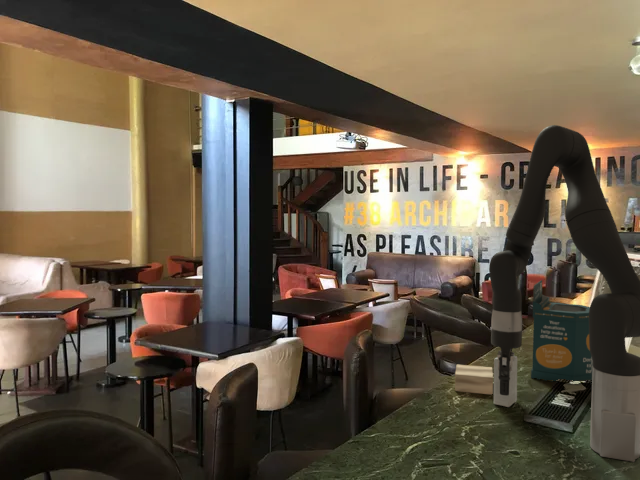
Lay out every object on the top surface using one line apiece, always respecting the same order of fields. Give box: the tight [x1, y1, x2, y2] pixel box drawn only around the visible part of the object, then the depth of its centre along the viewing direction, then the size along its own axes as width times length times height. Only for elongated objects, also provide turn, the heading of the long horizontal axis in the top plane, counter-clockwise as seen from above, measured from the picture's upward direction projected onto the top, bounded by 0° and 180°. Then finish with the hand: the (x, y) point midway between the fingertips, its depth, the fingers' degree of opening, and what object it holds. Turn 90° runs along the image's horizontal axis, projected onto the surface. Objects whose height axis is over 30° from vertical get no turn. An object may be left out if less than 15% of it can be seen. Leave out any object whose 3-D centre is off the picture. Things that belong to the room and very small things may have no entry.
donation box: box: [530, 280, 593, 382], centre depth 161 cm, size 16×16×28 cm
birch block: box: [454, 363, 494, 395], centre depth 151 cm, size 10×10×5 cm
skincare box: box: [493, 355, 518, 408], centre depth 138 cm, size 6×4×12 cm
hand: (505, 390), depth 138 cm, fingers closed on skincare box, 7 cm apart
